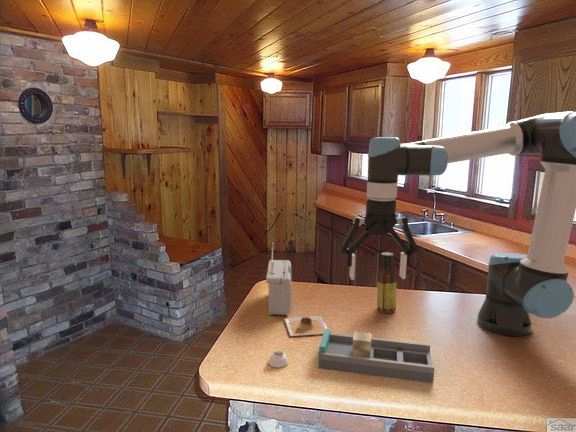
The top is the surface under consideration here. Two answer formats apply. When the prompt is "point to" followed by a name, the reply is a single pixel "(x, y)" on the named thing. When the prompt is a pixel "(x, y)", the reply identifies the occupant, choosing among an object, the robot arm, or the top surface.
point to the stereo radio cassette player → (279, 286)
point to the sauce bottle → (386, 284)
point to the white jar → (278, 359)
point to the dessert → (305, 324)
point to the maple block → (361, 344)
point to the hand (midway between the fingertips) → (377, 277)
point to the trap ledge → (339, 357)
